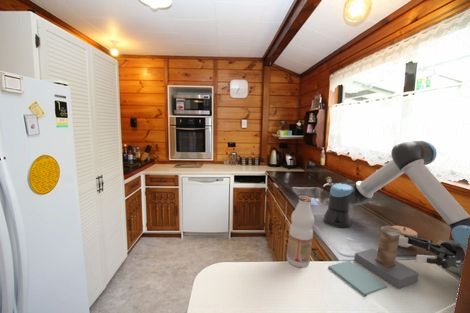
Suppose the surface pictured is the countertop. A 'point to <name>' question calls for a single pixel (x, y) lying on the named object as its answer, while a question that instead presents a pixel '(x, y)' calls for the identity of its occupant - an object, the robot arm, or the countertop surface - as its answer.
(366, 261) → the block
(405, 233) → the lidded jar
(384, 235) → the walnut plug
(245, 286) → the countertop surface
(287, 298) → the countertop surface
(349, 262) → the pad
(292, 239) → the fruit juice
